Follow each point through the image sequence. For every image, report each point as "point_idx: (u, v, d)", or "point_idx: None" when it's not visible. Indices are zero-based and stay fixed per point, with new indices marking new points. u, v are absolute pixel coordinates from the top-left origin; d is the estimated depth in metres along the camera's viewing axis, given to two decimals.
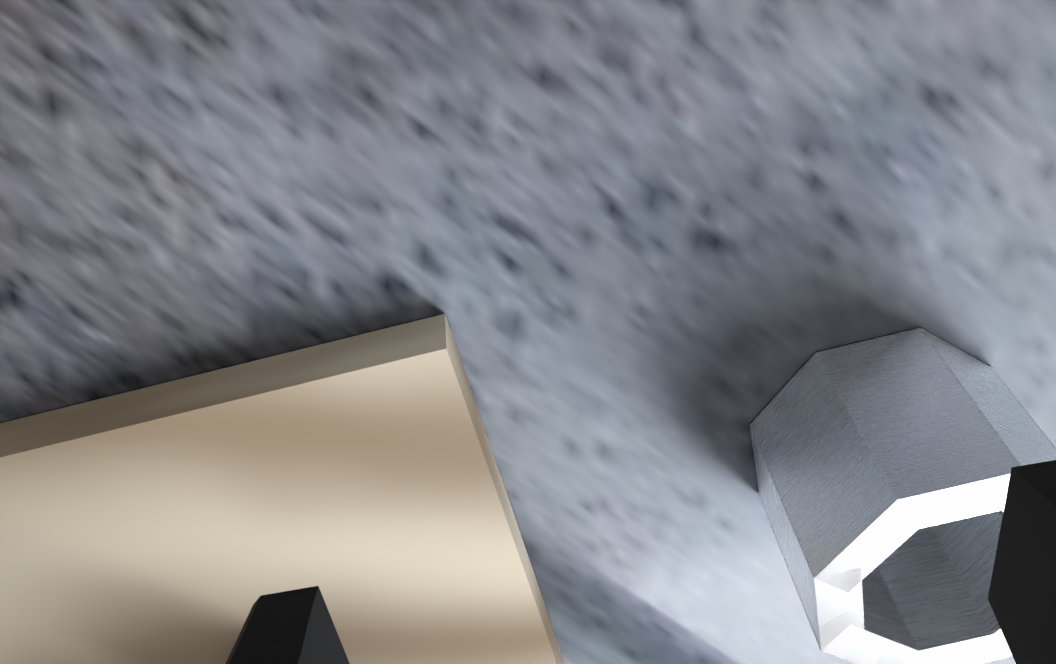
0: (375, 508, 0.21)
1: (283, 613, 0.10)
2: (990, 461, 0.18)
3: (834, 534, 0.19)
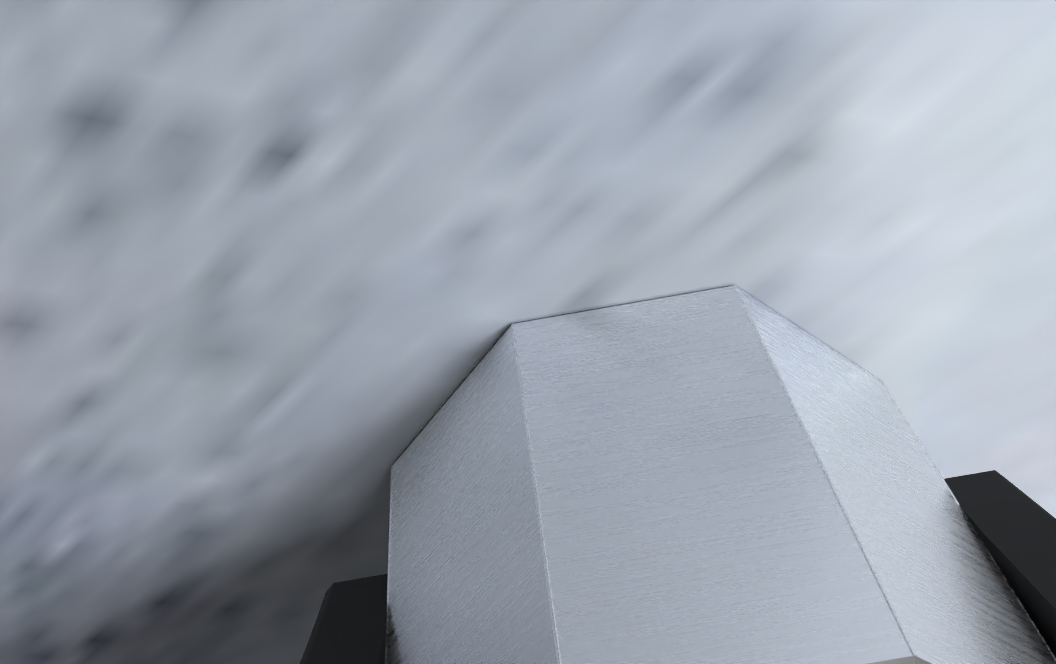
0: None
1: (359, 601, 0.10)
2: None
3: None
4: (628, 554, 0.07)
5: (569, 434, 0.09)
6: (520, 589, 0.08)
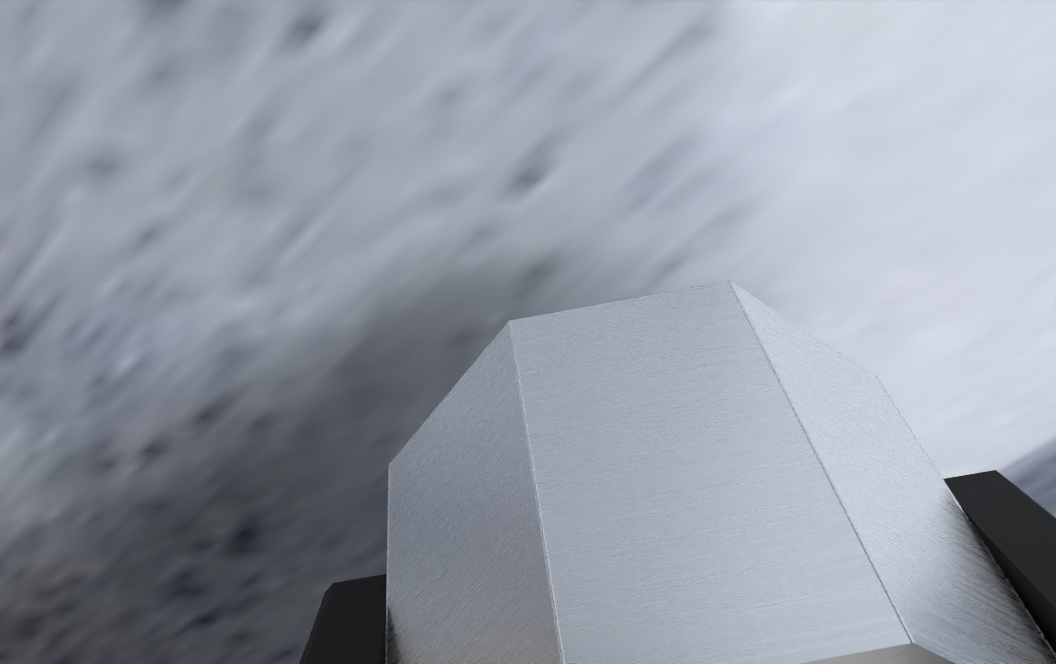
0: None
1: (358, 600, 0.10)
2: None
3: None
4: (628, 546, 0.08)
5: (567, 429, 0.09)
6: (520, 583, 0.08)
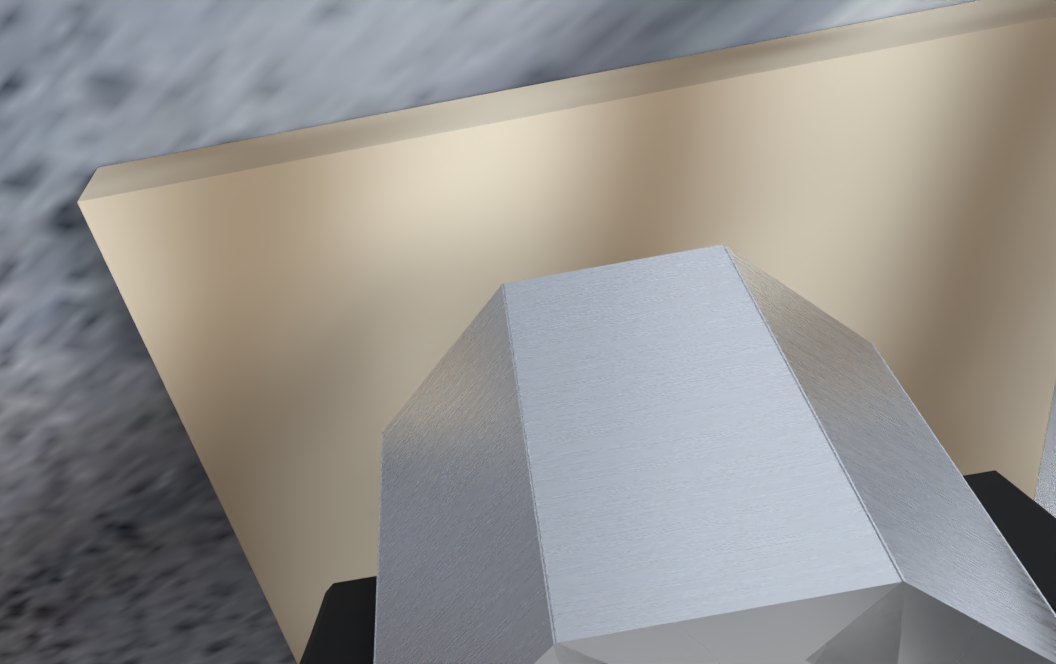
0: (354, 298, 0.17)
1: (358, 600, 0.10)
2: None
3: None
4: (618, 493, 0.07)
5: (559, 384, 0.09)
6: (509, 531, 0.08)
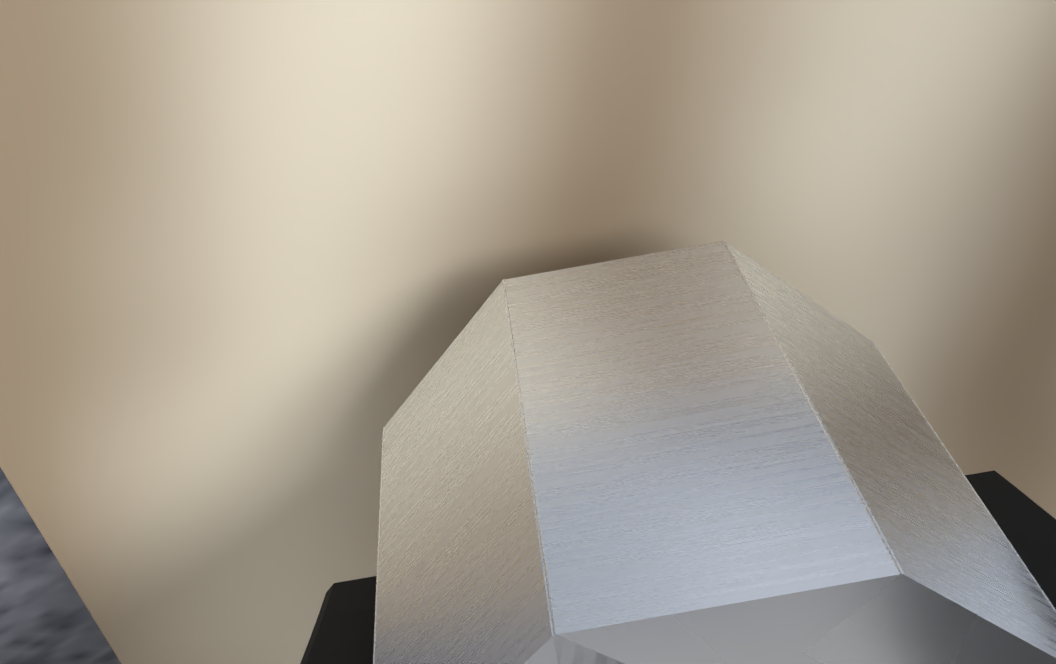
0: (191, 197, 0.11)
1: (359, 600, 0.10)
2: None
3: None
4: (616, 487, 0.07)
5: (558, 379, 0.09)
6: (509, 524, 0.08)
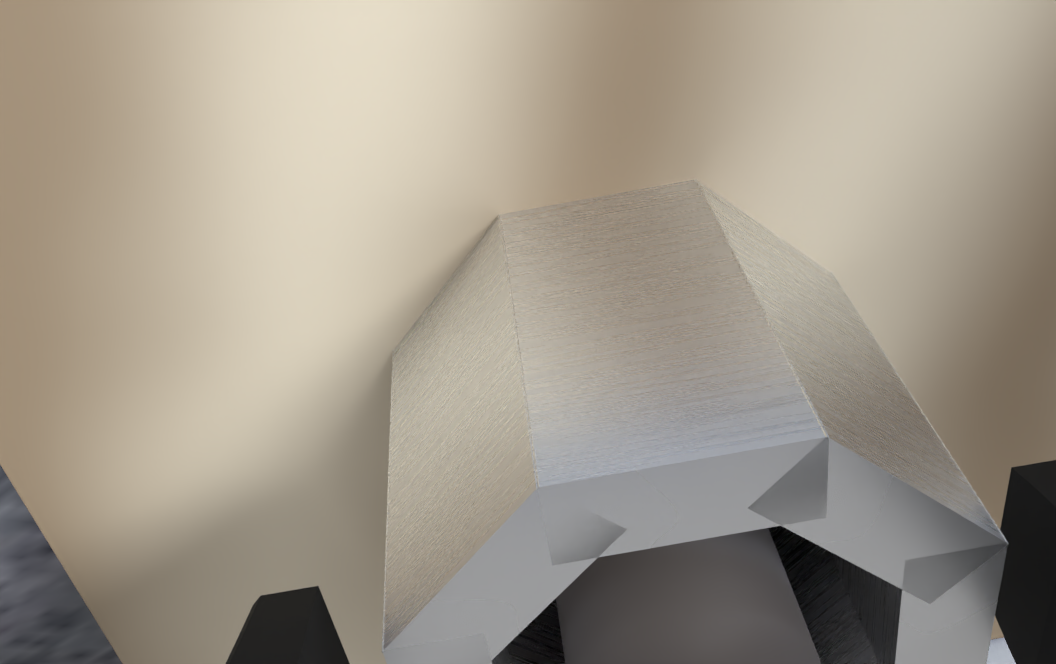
0: (192, 196, 0.11)
1: (282, 613, 0.10)
2: None
3: None
4: (593, 377, 0.09)
5: (546, 294, 0.10)
6: (502, 410, 0.09)
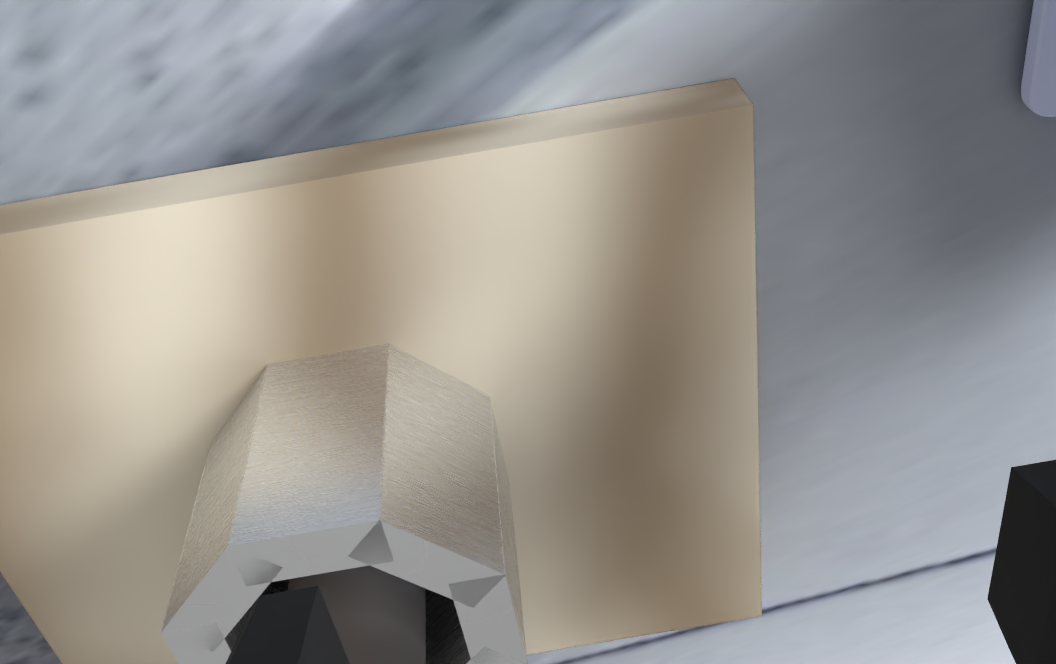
0: (74, 356, 0.18)
1: (283, 613, 0.10)
2: None
3: None
4: (279, 480, 0.16)
5: (274, 424, 0.17)
6: (231, 498, 0.16)
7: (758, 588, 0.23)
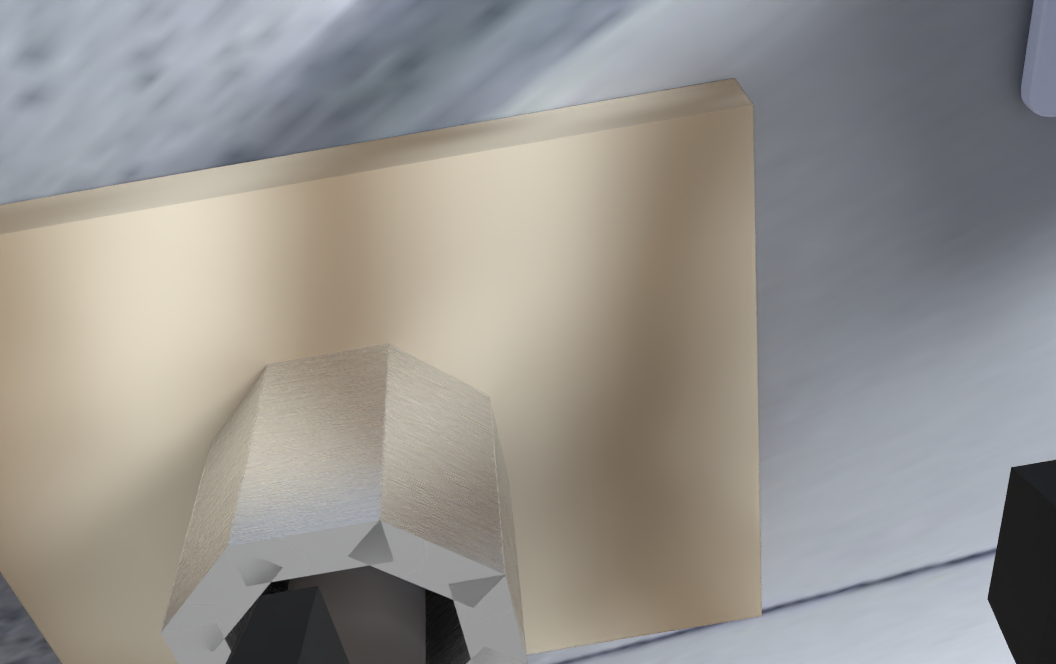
0: (74, 356, 0.18)
1: (283, 613, 0.10)
2: None
3: None
4: (279, 480, 0.16)
5: (274, 424, 0.17)
6: (231, 498, 0.16)
7: (758, 588, 0.23)
